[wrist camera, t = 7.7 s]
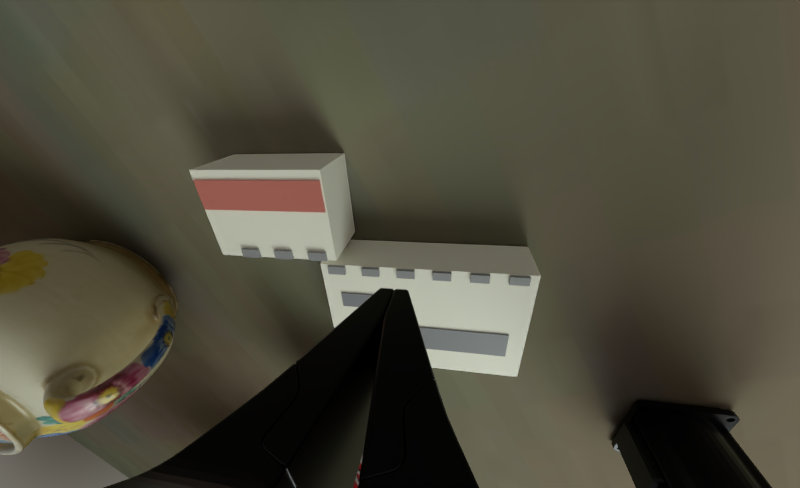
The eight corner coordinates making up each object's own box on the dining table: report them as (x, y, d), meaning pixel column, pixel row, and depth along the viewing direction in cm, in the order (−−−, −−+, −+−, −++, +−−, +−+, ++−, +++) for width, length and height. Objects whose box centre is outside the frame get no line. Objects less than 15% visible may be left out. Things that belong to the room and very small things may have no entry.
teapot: (119, 172, 20) (-338, 289, 8) (251, 313, 25) (69, 513, 13) (15, 269, 27) (-303, 402, 16) (131, 363, 32) (-52, 519, 21)
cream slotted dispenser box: (528, 246, 17) (541, 278, 15) (509, 340, 21) (517, 379, 19) (338, 239, 19) (318, 265, 17) (353, 326, 23) (339, 359, 21)
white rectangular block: (344, 153, 16) (318, 170, 13) (355, 231, 19) (335, 262, 16) (234, 154, 18) (185, 171, 14) (257, 228, 20) (220, 256, 17)
